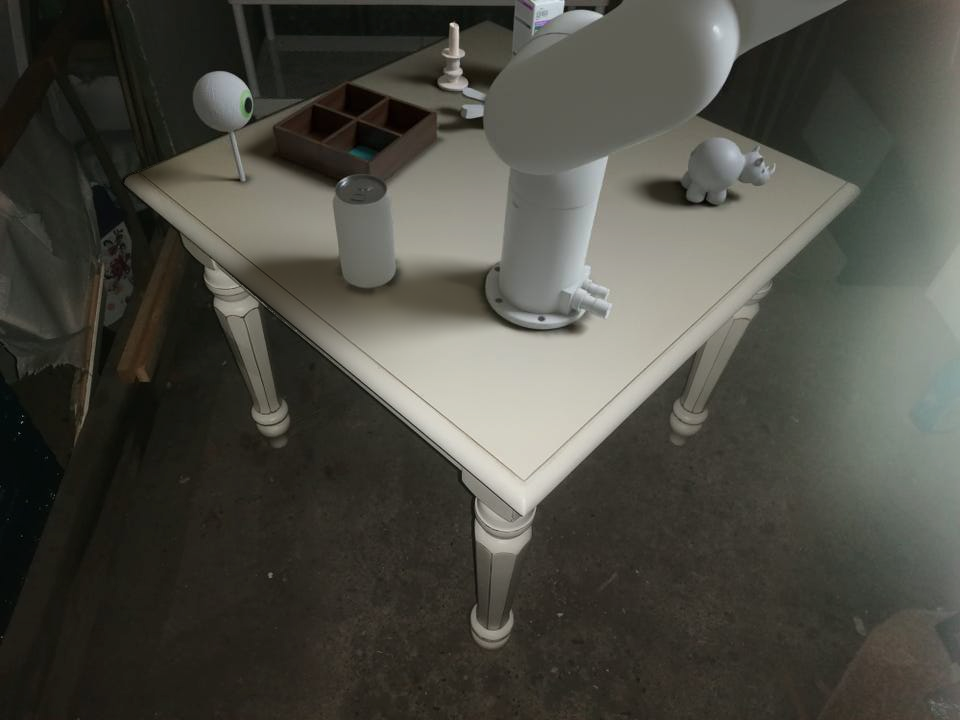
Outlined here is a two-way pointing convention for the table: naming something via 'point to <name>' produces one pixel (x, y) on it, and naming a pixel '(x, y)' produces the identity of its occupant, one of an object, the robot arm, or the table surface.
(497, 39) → the table surface
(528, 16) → the syrup box
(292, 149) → the divided tray
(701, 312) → the table surface
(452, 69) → the candle
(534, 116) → the robot arm
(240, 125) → the lollipop
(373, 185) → the can
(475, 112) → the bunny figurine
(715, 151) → the toy rhinoceros
